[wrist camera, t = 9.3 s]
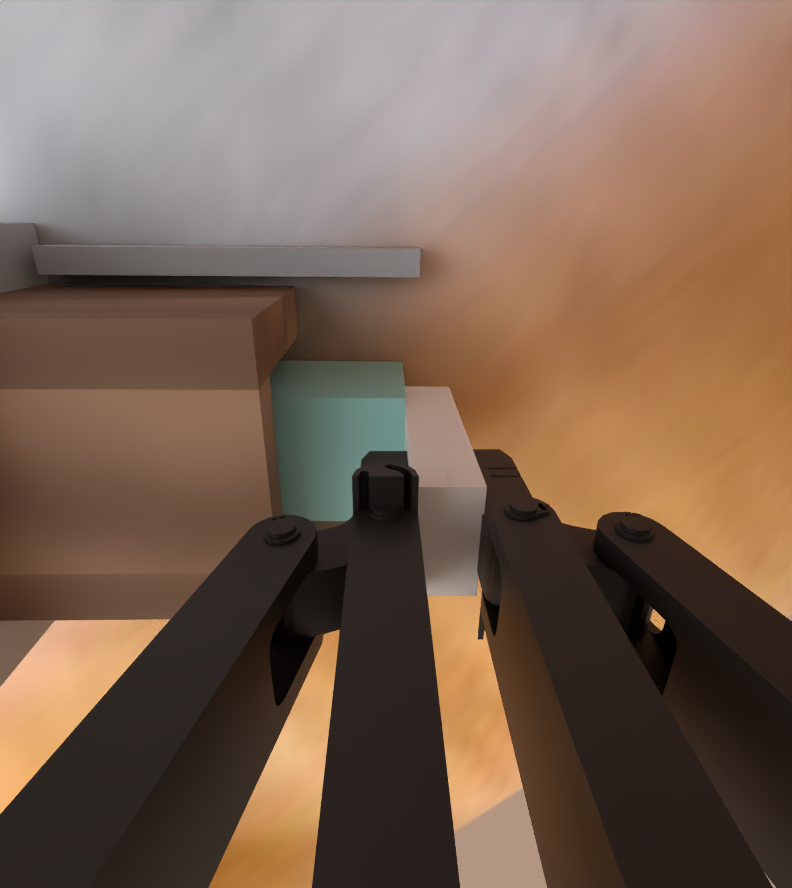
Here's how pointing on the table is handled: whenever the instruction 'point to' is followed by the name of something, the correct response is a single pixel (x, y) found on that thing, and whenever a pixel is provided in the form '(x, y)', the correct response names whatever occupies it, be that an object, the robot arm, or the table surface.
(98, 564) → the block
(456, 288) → the table surface
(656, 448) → the table surface
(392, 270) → the wall
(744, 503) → the table surface
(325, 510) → the peg
